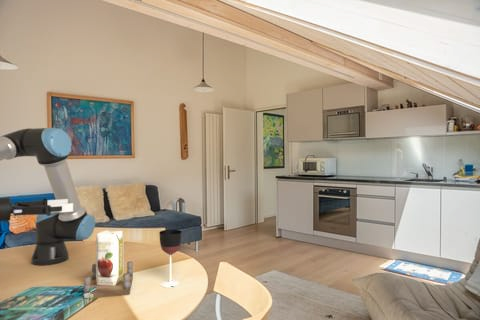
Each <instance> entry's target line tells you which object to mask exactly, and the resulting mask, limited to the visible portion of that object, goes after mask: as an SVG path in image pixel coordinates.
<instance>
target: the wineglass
mask: <svg viewBox="0 0 480 320" xmlns="http://www.w3.org/2000/svg"><path fill="white" fill-rule="evenodd" d="M181 242H182V231H181V230H179V229H165V230H160V231H159V243H160V248H161V250H162V251H163V252H164V253H166V254H167V255H169V269H168V270H169V280H168V279H167V280H168V281H167V280H164V281H162V282H161V283H160V286H161V287H163V288H172V287H171V286H175V285H178V283H179V282H180V281H179V280H177V281H175V279H172V255H174V254H175V253H177V252H178V251H179V249H180V247H181V244H182V243H181ZM178 281H179V282H178ZM178 286H179V285H178ZM175 287H176V286H175Z"/></svg>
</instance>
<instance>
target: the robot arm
mask: <svg viewBox="0 0 480 320" xmlns="http://www.w3.org/2000/svg"><path fill="white" fill-rule="evenodd" d="M72 145H73V143H72V140H71V138H70V136H69V134H68V133H67V132H66V131H65V130H63V129H61V128H57V127H55V128H54V127H45V128H44V127H41V128H40V127H39V128H37V127H36V128H29V127H28V128H23V129H18V130H16V131H12V132H9V133H7V134H3V135H1V136H0V162H1V161H3V160H8V161H9V160H12V159H15V158H20V157H36V160H37V163H38V164H39V165H40V166H43V167H44V170H45V173H46V175H47V178H48V181H49V183H50V187H51V190H52V192H53V195H54V198H55V199H48V198H43V199H39V200H31V201H16V202H14V203H13V204H11V201H12V200H11V198H10V197H0V223H1V222H10V220H11V215H12V214H13V216H15V217H16V216H17V217H18V216H22V215H23V216H36V219H35V248H34V251H33V254H32V257H31V264H32V265H34V266H49V265H56V264H59V263H63V262H65V261H67V260H69V255H70V254H69V252H68V248H67V246H66V242H65V240H69V241H70V240H71V241H72V240H73V241H75V240H76V241H84V240H88V239H89V238H90V237H91V236H92V235H93V233H94V230H95V228H96V218H95V216H94V215H92V214H88V211H87V209H86V207H84V206H82V204H81V202H80V198H79V196H78V193H77V190H76V187H75V184H74V180H73V178H72V174H71V170H70V168H69V164H68V161H67V160H68V159H69V157H70V156H69V155H70V153H71V151H72Z"/></svg>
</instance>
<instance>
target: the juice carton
mask: <svg viewBox="0 0 480 320" xmlns="http://www.w3.org/2000/svg"><path fill="white" fill-rule="evenodd" d="M124 243H125V242H124V231H123V230H109V229H105V230H102V231H100V232H98V233H97V234H96V239H95V264H96V281H97V285H101V286H115V285H117V284H118V283H119V282H120V281H122V279H123V274H124Z"/></svg>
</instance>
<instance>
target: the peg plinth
mask: <svg viewBox="0 0 480 320" xmlns="http://www.w3.org/2000/svg"><path fill="white" fill-rule="evenodd" d="M133 264H134V263H133V261H131V260H129V261H127V264H126V265H127V270H126V273H123V279H122V281H120V282H119V283H118V284H117V285H115V286H101V285H97V281H96V263H94V264H92V265H91V276H90V275H89V276H85V277H84V278H83V284H84V285H83V295H84V294H85V293H89V292H90V289H93V288H94V287H97V289H96V290H94V291H92V292H90V293H91V294H93V295H94V297H95V298H94V299H98V298H100V299H101V298H108V297H109V298H111V297H119V296H129V295H130V294H131V290H132V289H131V288H132V284H133V279H134V274H133V269H134V268H133Z"/></svg>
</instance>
